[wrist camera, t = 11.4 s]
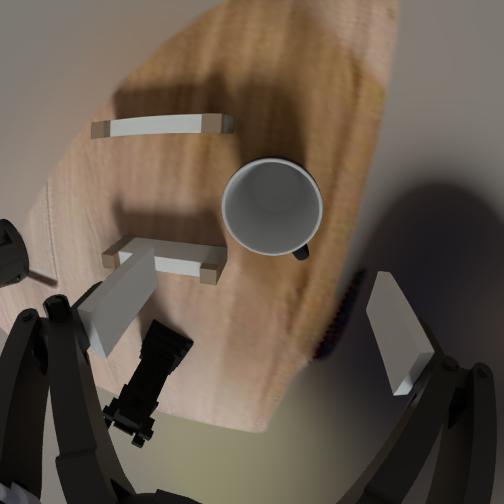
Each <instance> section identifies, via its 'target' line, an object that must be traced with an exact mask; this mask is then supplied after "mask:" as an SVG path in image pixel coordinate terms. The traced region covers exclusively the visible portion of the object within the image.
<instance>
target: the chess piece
mask: <svg viewBox="0 0 504 504" xmlns="http://www.w3.org/2000/svg"><path fill="white" fill-rule="evenodd" d="M193 343H194V342H192V341H191V340H189V339H187V338H185V337H183V336H182V335H180V334H178V333H176V332H175V331H173V330H171V329H169V328H168V327H166V326H164V325H163V324H161V323H159V322H158V321H156V320H153V322H152V324H151V326H150V328H149V330H148V332H147V334H146V337H145V339H144V341H143V343H142V345H141V347H142V349H141V351H140V352H141V354H140V357H139V358H140V359H142V360H141V362H140V363H139V365H138V367H137V369H136V371H135V372H134V374H133V376H132V378H131V380H130V381H129V383H128V385H127V384H124V386H123V388H122V391H121V393H120V396H119V398H118V399H116V398H115V397H114V398H113V400H112V402H111V404H110V405H109V407H108V406H107V405H106V406H105V408H104V409H103V411H102V413H103V416H104V417H105V418H104V420H105V423H106V426H107V429H109V427H110V425H111V423H112V421H114V422H115V423H114V425H113V426H114V427H117V428H118V429H120V430H122V431H124V432H125V433H127V434H129V435H131V436H132V435H133V433H136V434H135V436H134V438H133V441H132V443H131V444H133V445H135V446H137V447H139V448H142V447H143V444H144V442H145V440H143V438H144V439H146V440H148V441H149V440H150V439H151V437H152V435H153V431H152V430H151V428H152V426H153V423H154V421H155V420H154V419H153V418H151V417H150V415H151V414H152V413H153V411H154V410H155V409H156V408H157V406H158V404H159V402H157V398H158V396H159V394H160V392H161V389H162V387H163V385H164V383H165V380H166V378H167V376H168V375H170V374H171V372H172V371H174V370H175V368H176V367H178V365H179V364H180V363H181V361H182V360H183V358H184V357H185V356H186V354H187V353H188V351H189V350H190V348H191V347H192V346H193Z"/></svg>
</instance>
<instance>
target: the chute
mask: <svg viewBox="0 0 504 504" xmlns="http://www.w3.org/2000/svg"><path fill="white" fill-rule="evenodd" d="M233 125H234V117H232V116H229V115H225V114H214V113H202V114H188V115H164V116H150V117H138V118H128V119H119V120H112V121H100V122H94V123H91V139H96V138H104V137H113V136H124V135H137V134H155V133H233ZM142 245H147V246H154V257H155V267H156V270H157V271H164V272H170V273H177V274H184V275H191V276H198V277H200V283H203V284H210V285H217V282H218V280H219V278H220V276H221V273H222V271H223V269H224V267H225V264H226V262H227V247H218V246H209V245H200V244H191V243H182V242H173V241H164V240H155V239H146V238H137V237H128V236H124V237H123V238H122V239H120V240H119V241H118V242H116V243H115V244H114V245H112V246H111V247H110V248H109V249H107V250H106V251H105V252H103V253H102V260H103V265H104V268H110V269H116V268H117V267H119V266H120V265H121V264H122V263H123V262H124V261H125V260H127V259H128V258H129V257H130V256H131V255H132V254H133V253H134V252H135V251H136V250H137V249H138V248H140V247H141V246H142Z"/></svg>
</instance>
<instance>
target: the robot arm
mask: <svg viewBox="0 0 504 504" xmlns="http://www.w3.org/2000/svg"><path fill="white" fill-rule="evenodd" d="M28 272H29V261H28V256H27V252H26V248H25V246H24V243H23V241H22V238H21V236H20V234H19V233H18V231H17V229H16V228H15V227H14V226H13V224H12V223H11V222H10V221H8V220H6V219H1V220H0V288H2V287H5V286H9V285H12V284H16V283H19V282H21V281H22V280H23V279H24V278H26V277H27V275H28ZM157 286H158V285H157V276H156V267H155V257H154V246H147V245H142V246H141V247H140V248H138V249H137V250H136V251H135V252H134V253H133V254H132V255H131V256H130V257H129V258H128V259H127V260H125V261H124V262H123V263H122V264H121V265H120V266H119V267H118V268H117V269H116V270H115V271H114V272H113V273H112V274H111V275H110V276H109V277H108V278H107V279H106V280H105V281H104V282H102V281H100V282H98V283H96V284H94V285H93V286H92V287H91V288H89V289H88V290H87V292H85V293H84V294H83V296H81V297H80V298H79V299H78V300H77V301H76V302H75V303H74V304H73V305H72V306H71V307H70V305H69V302H68V299H67V297H66V296H65V295H61V294H58V295H53V296H51V297H49V298H47V299H46V300H45V301H44V303H43V308H44V311H45V313H46V316H47V318H43V317H39V314H38V312H37V310H36V309H33V308H29V309H25V310H23V311H22V312H21V313H19V315H18V316H17V318H16V320H15V322H14V325H13V327H12V329H11V331H10V334H9V336H8V338H7V341H6V343H5V346H4V348H3V351H2V353H1V356H0V504H41V502H40V497H41V488H42V446H43V431H44V420H45V412H46V405H47V397H48V391H49V385H50V395H51V404H52V412H53V419H54V425H55V430H56V436H57V441H58V446H59V451H60V455H59V456H57V457H56V460H55V462H56V468H57V472H58V476H59V479H60V483H61V486H62V490H63V493H64V496H65V499H66V502H67V504H201V503H199V502H197V501H195V500H193V499H190V498H188V497H185V496H181V495H177V494H173V493H170V492H166V491H163V490H159V489H157V491H156V493H140V494H136V492H135V490H134V488H133V487H132V485H131V483H130V482H129V481H128V479H127V477H126V476H125V474H124V472H123V469H122V467H121V465H120V462H119V460H118V457H117V455H116V452H115V449H114V446H113V444H112V441H111V438H110V435H109V433H108V429H107V426H106V423H105V420H104V416H103V413H102V410H101V406H100V403H99V399H98V395H97V391H96V387H95V383H94V379H93V374H92V370H91V365H90V360H89V355H88V353H87V349H88V348H89V347H90V345H91V348H92V350H93V353H94V354H95V355H98V356H101V357H104V358H107V357H108V356H109V354H110V353H111V351H112V350H113V348H114V347H115V345H116V344H117V342H118V341H119V339H120V338H121V336H122V335H123V333H124V332H125V331H126V329H127V328H128V326H129V325H130V323H131V322H132V321H133V319H134V318H135V316H136V315H137V314H138V312H139V311H140V309H141V308H142V307H143V305H144V304H145V302H146V301H147V300H148V298H149V297H150V296H151V294H152V293H153V292H154V290H155V289H156V288H157ZM366 312H367V314H368V317H369V320H370V322H371V325H372V328H373V331H374V334H375V337H376V340H377V343H378V346H379V349H380V352H381V355H382V358H383V361H384V364H385V368H386V371H387V374H388V378H389V381H390V385H391V388H392V392H393V395H403V394H408V392H409V391H410V390H411V388H412V387H413V386H414V389H415V394H414V395H413V396H412V397H411V399H410V400H409V402H408V403H407V404H406V405H405V406H406V409H405V410H404V412H403V414H402V416H401V417H400V419H399V421H398V422H397V424H396V426H395V428H394V429H393V430H392V432H391V434H390V435H389V437H388V438H387V440H386V441H385V443H384V444H383V446H382V447H381V449H380V450H379V452H378V453H377V454H376V456H375V457H374V459H373V460H372V461H371V463H370V464H369V465H368V467H367V468H366V469H365V471H364V472H363V473H362V474H361V476H360V477H359V478H358V479H357V481H356V482H355V483H354V484H353V486H352V487H351V488H350V489H349V490H348V491H347V492H346V494H345V495H344V496H343V497H342V498H341V499H340V500H339V501H338V502H337V503H336V504H401V502H402V501H403V499H404V498H405V496H406V495H407V493H408V491H409V489H410V488H411V486H412V485H413V483H414V481H415V480H416V478H417V476H418V474H419V472H420V471H421V469H422V467H423V465H424V463H425V461H426V459H427V457H428V455H429V453H430V451H431V449H432V447H433V445H434V442H435V440H436V438H437V436H438V433H439V431H440V429H441V426H442V424H443V429H442V435H441V441H440V447H439V452H438V457H437V462H436V466H435V471H434V475H433V479H432V483H431V486H430V490H429V493H428V497H427V500H426V503H425V504H490V501H491V495H492V489H493V481H494V473H495V462H496V445H497V417H496V399H495V388H494V379H493V373H492V371H491V369H490V368H489V367H488V366H487V365H486V364H484V363H480V362H478V363H475V365H474V366H473V367H472V369H471V370H469V369H464V368H460V366H459V363H458V362H457V361H456V360H455V359H454V358H452V357H450V356H447V355H445V354H444V353H443V351H442V349H441V347H440V345H439V343H438V341H437V339H436V338H435V336H434V334H433V332H432V330H431V329H430V327H429V325H428V324H427V323H426V322H425V321H424V320H423V319H422V318H417V317H416V315H415V314H414V312H413V311H412V308H411V307H410V305H409V303H408V301H407V300H406V298H405V297H404V295H403V293H402V292H401V290H400V288H399V287H398V285H397V283H396V281H395V280H394V278H393V277H392V275H391V274H390V272H381V271H379V272H378V274H377V278H376V281H375V285H374V288H373V291H372V294H371V297H370V300H369V303H368V306H367V309H366Z"/></svg>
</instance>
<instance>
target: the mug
mask: <svg viewBox="0 0 504 504" xmlns="http://www.w3.org/2000/svg"><path fill="white" fill-rule="evenodd" d="M221 209H222V216H223V220H224V223H225V225H226V227H227V229H228V231H229V232H230V234H231V235H232V236H233V238H234V239H235V240H236V241H237V242H238V243H240V244H241V245H242V246H244V247H245V248H247V249H249V250H251V251H253V252H256V253H259V254H263V255H283V254H287V253H290V252H292V253H293V254H294V256H295V257H296V258H297V259H298V260H305V259H307V258H308V257H309V250H308V246H307V242H308V241H309V240H310V239H311V238H312V237H313V235H314V234H315V233H316V231H317V229H318V227H319V225H320V222H321V218H322V212H323V203H322V197H321V193H320V190H319V188H318V185H317V183H316V182H315V180H314V178H313V177H312V176H311V174H310V173H309V172H308V171H307V170H306V169H305V168H304V167H303V166H302V165H300V164H299V163H297V162H296V161H294V160H292V159H289V158H287V157H283V156H275V155H272V156H263V157H259V158H256V159H254V160H252V161H250V162H248V163H246V164H244V165H243V166H242V167H240V168H239V169H238V170H237V171H236V172H235V173H234V174H233V175H232V176H231V178H230V179H229V181H228V183H227V184H226V187H225V189H224V192H223V196H222V203H221Z"/></svg>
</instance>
